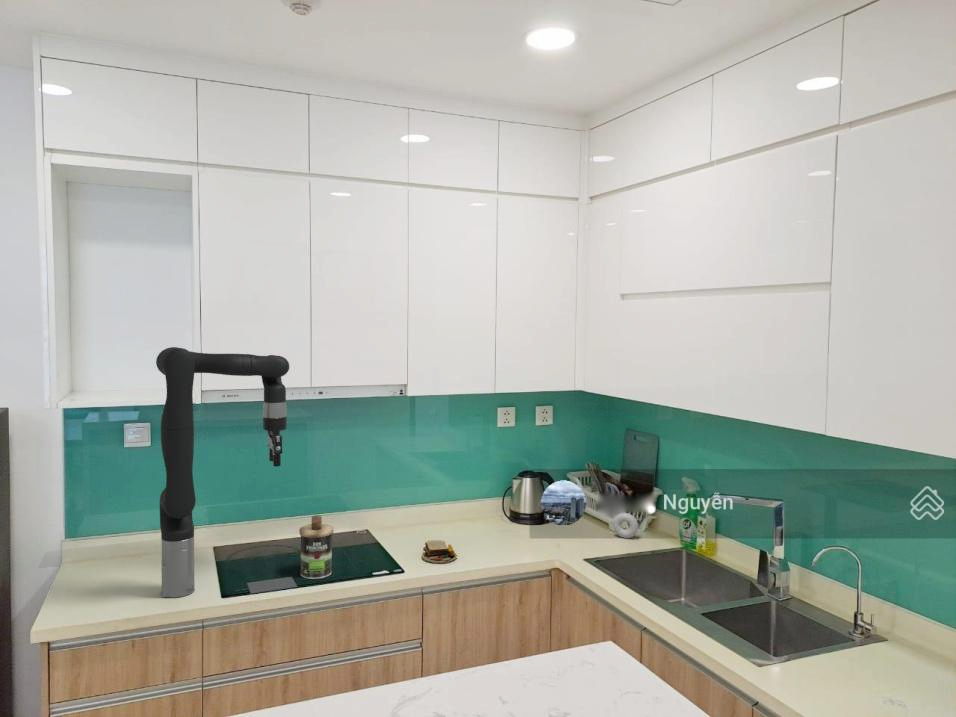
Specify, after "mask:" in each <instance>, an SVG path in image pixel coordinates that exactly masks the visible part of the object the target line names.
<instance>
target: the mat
mask: <svg viewBox="0 0 956 717" xmlns="http://www.w3.org/2000/svg"><path fill="white" fill-rule="evenodd" d="M246 584H247V587H248V590H249V593H250V594H258V593H264V592H270V591H279V590H284V589H291V588H297V587H298V585H297V583H296V582H295V580H294V578H293V576H288V577H287V576H285V577H280V578H273V579H267V580H264V579H263V580H260V581H253V582H252V581H251V582H246Z"/></svg>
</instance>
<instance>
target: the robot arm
mask: <svg viewBox="0 0 956 717" xmlns="http://www.w3.org/2000/svg"><path fill="white" fill-rule="evenodd" d="M155 364H156V367H157V370H158V371H159V372H160V373H161V374H162V375H163V376H165V382H166V399H165V402H164V406H163V411H162V415H161V418H160V419H161V420H160V445H161V453H162V457H163V463H164V467H165V473H166V475H165V476H166V478H165V479H166V480H165V488H164V489H162V491H161V493H160V496H159V526H160V532H161V533H160V534H161V536H160V538H161V598H181V597H185V596H188V595H190V594H193V592H195V590H196V589H195V588H196V587H195V583H196V582H195V525H194V519H193V511H194V509H195V506H196V502H197V500H196V499H197V497H196V492H195V485H194V475H193V464H194V449H195V447H194V446H195V423H194V400H193V399H194V398H193V390H194V389H193V388H194V378H195V374H212V375H213V374H215V375H224V376H234V377H235V376H236V377H237V376H239V377H240V376H241V377H254V376H258V377H260V376H261V382H262V385H263V408H262V429H263V430H264V431H265V432H266V431H267V447H268V450H269V451H268V452H269V454H268V456H269V458H268V460H269V462H272V463H273V467H281V458H282V457H281V455H283V435H281V431H285V430H286V429H287V424H288V423H287V422H288V420H287V416H288V415H287V414H288V412H287V388H286V386H285V385H284V384H283V380H282V377H284V376H285V375H286V374H288V372H289V370H290V363H289V361H288V360H287V358H286V357H284V356H281V355H276V354H269V355H258V354H257V355H256V354H252V353H251V354H250V353H206V352H205V353H203V352H198V351H197V352H195V351H190V350H188V349H186V348H183V347H177V346H176V347H175V346H172V347H170V346H169V347H167V348H165V349H163V350H162V351H160V352H159V353H158V355H157V357H156V360H155Z"/></svg>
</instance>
